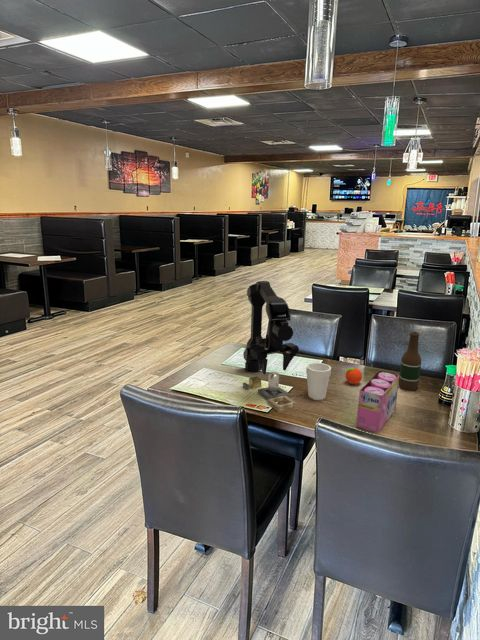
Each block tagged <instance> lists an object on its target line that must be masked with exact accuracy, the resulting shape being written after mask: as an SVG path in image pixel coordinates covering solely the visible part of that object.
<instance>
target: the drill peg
mask: <svg viewBox="0 0 480 640" xmlns="http://www.w3.org/2000/svg"><path fill="white" fill-rule="evenodd" d="M267 379H268V385H267V387H268V393H269V394H270V395H275V394H279V387H280V383H279V382H280V373H279V372H276V371H272V372H268V378H267Z"/></svg>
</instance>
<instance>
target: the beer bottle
mask: <svg viewBox="0 0 480 640" xmlns="http://www.w3.org/2000/svg"><path fill="white" fill-rule="evenodd" d="M419 337H420V333H419V332H418V331H411V332H410V333H409V340H408V346H407V348H406V351H405V352H404V353H403V355H402V357H401V361H400V368H399V374H398V375H399V378H398V387H399V389H400V390H403V391H407V392H416V391H417V390H418V389H419V383H420V377H421V370H422V358H421V357H422V356H421V355H420V354H419Z"/></svg>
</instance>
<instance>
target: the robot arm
mask: <svg viewBox="0 0 480 640" xmlns="http://www.w3.org/2000/svg"><path fill="white" fill-rule="evenodd" d="M246 295H247V300H248V301H249V304H250V305H251V311H250V312H251V315H250V338H249V339H248V341H247V342H246V347H245V348H244V351H243V354H242V355H243V359H244V360H245V363H244V364H245V365H244V371H245V372H247V373H257V372H260V371H261V373H262V374H263V375H266V374H267V373H266V372H267V366H268V355H273V354H279V353H281V354H282V355H283V356H282V358H283V359H282V370H283V371H284V372H285V371H286V370H287V368H288V367H289V365H290V363H291V362H292V361H293V359H294V357H296V356H297V355H298V354H299V353H300V348H299V346H298V345H296V344H295V343H292V342H287V341H289V340H291V339H292V338H293V335H294V330H293V329H292V327H291V326H290V325H289V322H288V321H291V316H292V315H291V311H290V308H289V304H288V303H287V301H286V300H285V299H284V298H283V297H280V296H277V294H276V293H275V291H274V289H273V288H272V286H271V283H270V281H268V280H259V281H256V283H253V284H251V285H249V287H248V288H247V290H246ZM264 305H265V312H266V315H267V318H268V330H267V332H268V333H267V334H266V335H265V337H263V336H262V324H263V307H264ZM284 342H287V343H284Z"/></svg>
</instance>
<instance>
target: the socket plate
mask: <svg viewBox="0 0 480 640" xmlns="http://www.w3.org/2000/svg"><path fill="white" fill-rule="evenodd" d="M242 388H243V389H245V390H246V391H248V390H249V389H250V386H249V383H246V382H242ZM257 394H258V395H259V396H261V397H262V398H264V399H265V400H267V399H272V398H276V397H280V396H287V397H288V398H290V395H291V394H290V393H289V392H288V391H286V390H284V389H283V388H281V387H280V386H279V394H275V395H270V394H269V393H268V386H267V387H263V388H262V387H261V388H259V389H258V388H257Z"/></svg>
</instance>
